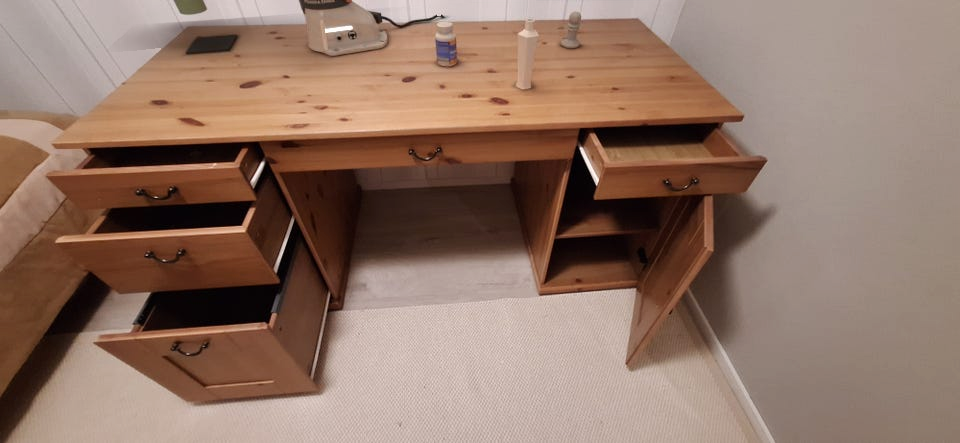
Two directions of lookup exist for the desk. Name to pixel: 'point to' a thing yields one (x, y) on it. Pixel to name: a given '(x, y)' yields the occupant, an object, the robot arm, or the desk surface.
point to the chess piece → (572, 31)
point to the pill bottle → (446, 44)
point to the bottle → (190, 6)
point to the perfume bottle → (526, 54)
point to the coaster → (212, 44)
